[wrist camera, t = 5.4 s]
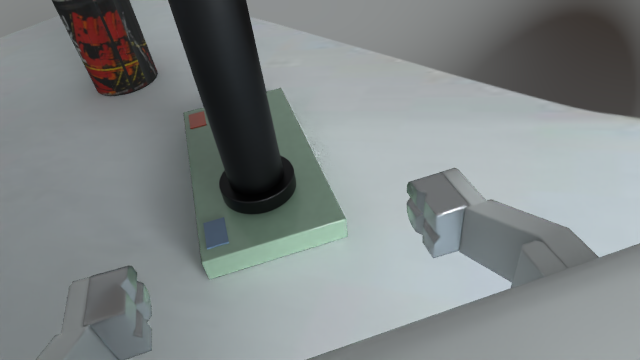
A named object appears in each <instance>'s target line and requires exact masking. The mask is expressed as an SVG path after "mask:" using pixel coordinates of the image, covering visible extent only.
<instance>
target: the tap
mask: <svg viewBox="0 0 640 360" xmlns="http://www.w3.org/2000/svg"><path fill="white" fill-rule="evenodd" d="M168 1H169V4H170V7H171V10H172V13H173V16H174V19H175V22H176V25H177V28H178V31H179V34H180V37H181V40H182V43H183V46H184V49H185V52H186V55H187V58H188V61H189V64H190V67H191V70H192V73H193V76H194V79H195V82H196V85H197V88H198V91H199V94H200V97H201V100H202V103H203V106H204V109H205V112H206V115H207V118H208V121H209V124H210V127H211V130H212V133H213V136H214V139H215V142H216V145H217V148H218V151H219V154H220V157H221V160H222V163H223V166H224V169H225V170H224V172H223V173H222V175H221V177H220V180H219V188H220V191H221V194H222V197H223V199H224V202H225V204H226V205H227V206H228V207H229V208H230V209H232V210H234V211H236V212H238V213H242V214H250V215H254V214H262V213H266V212H269V211H272V210H274V209H277V208H278V207H280V206H282V205H283V204H285V203H286V202H287V201H288V200H289V199H290V198H291V196H292V195H293V193H294V191H295V188H296V177H295V172H294V168H293V166H292V164H291V162H290V161H289V160H288V159H286V158H285V157H283V156H281V155H280V152H279V148H278V143H277V139H276V134H275V130H274V125H273V120H272V116H271V111H270V107H269V102H268V98H267V93H266V89H265V84H264V80H263V75H262V71H261V66H260V62H259V57H258V53H257V48H256V44H255V39H254V35H253V30H252V25H251V21H250V16H249V12H248V7H247V3H246V0H168Z"/></svg>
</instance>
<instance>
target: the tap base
mask: <svg viewBox="0 0 640 360" xmlns="http://www.w3.org/2000/svg"><path fill="white" fill-rule="evenodd" d="M266 93H267V98H268V102H269V107H270V111H271V116H272V120H273V125H274V130H275V134H276V139H277V143H278V148H279V152H280V155H281V156H283V157H285V158H286V159H288V160H289V161H290V162H291V164H292V166H293V168H294V172H295V177H296V188H295V191H294V193H293V195H292V196H291V198H290V199H289V200H288V201H287V202H286V203H285V204H283V205H282V206H280V207H278V208H277V209H274V210H272V211H269V212H266V213H262V214H254V215H250V214H242V213H238V212H236V211H234V210H232V209H230V208H229V207H228V206H227V205H226V204H225V202H224V199H223V197H222V194H221V191H220V188H219V180H220V177H221V175H222V173H223V172H224V170H225V169H224V166H223V163H222V160H221V157H220V154H219V151H218V148H217V145H216V142H215V139H214V136H213V133H212V130H211V127H210V124H209V121H208V118H207V115H206V112H205V109H204V108H200V109H196V110H192V111H188V112H184V122H185V130H186V139H187V147H188V155H189V164H190V172H191V180H192V189H193V197H194V205H195V214H196V222H197V230H198V239H199V247H200V255H201V263H202V265H203V267H204V270H205V272H206V274H207V276H208V278H209V279H213V278H216V277H219V276H223V275H226V274H229V273H232V272H235V271H239V270H242V269H245V268H248V267H252V266H255V265H258V264H261V263H264V262H268V261H271V260H274V259H277V258H281V257H284V256H287V255H290V254H293V253H297V252H300V251H303V250H306V249H310V248H313V247H316V246H319V245H322V244H326V243H329V242H332V241H335V240H339V239H342V238H345V237H347V236H348V234H347V225H346V218H345V216H344V214H343V212H342V210H341V208H340V206H339V204H338V202H337V200H336V198H335V196H334V194H333V192H332V190H331V188H330V186H329V184H328V182H327V180H326V178H325V176H324V174H323V172H322V170H321V168H320V166H319V164H318V162H317V160H316V158H315V156H314V154H313V152H312V150H311V148H310V146H309V144H308V142H307V140H306V138H305V136H304V134H303V132H302V130H301V128H300V125H299V123H298V121H297V119H296V117H295V115H294V113H293V111H292V109H291V107H290V105H289V103H288V101H287V99H286V97H285V95H284V93H283V91H282V89H281V88H279V89H275V90H271V91H267V92H266Z"/></svg>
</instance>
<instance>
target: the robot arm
mask: <svg viewBox="0 0 640 360" xmlns="http://www.w3.org/2000/svg"><path fill="white" fill-rule="evenodd" d="M407 193H408V194H409V196H410V197H411V198H410V199H409V200H408V202H407V213H408V217H409V220H410V223H411V225H412V227H413V228H414V230H415V231H416V232H417V233H419V234H422V235H423V244H424V245H425V247H426V248H427V250H428V251H429V253H430V254H431V256H432V257H433V258H436V257H439V256H443V255H446V254H449V253H453V252H456V251H459V250H460V251H459V252H461V253H462V254H464V255H466V256H467V257H469V258H471V259H473V260H474V261H476V262H478V263H479V264H481V265H483V266H485V267H486V268H488V269H490V270H491V271H493V272H495V273H497V274H498V275H500V276H502V277H503V278H505V279H507V280H509V281H510V282H512V285H511V288H510V289H507V290H504V291H502V292H499V293H496V294H493V295H490V296H487V297H484V298H481V299H478V300H476V301H473V302H470V303H467V304H464V305H461V306H458V307H455V308H453V309H450V310H447V311H444V312H441V313H438V314H435V315H433V316H430V317H427V318H424V319H421V320H418V321H415V322H412V323H410V324H407V325H404V326H401V327H398V328H395V329H392V330H390V331H387V332H384V333H381V334H378V335H375V336H372V337H370V338H367V339H364V340H361V341H358V342H355V343H352V344H350V345H347V346H344V347H341V348H338V349H335V350H332V351H329V352H326V353H324V354H321V355H318V356H315V357H312V358H309V359H306V360H640V243H639V244H637V245H634V246H631V247H628V248H625V249H622V250H619V251H617V252H614V253H611V254H608V255H605V256H602V257H598V256H597V255H596V254H595V253H594V252H593V251H592V250H591V249H590V248H589V247H588V246H587V245H586V244H585V243H584V242H583V241H582V240H581V239H580V238H579V237H577V236H576V235H575V234H574V233H573V232H572V231H571V230H570V229H569V228H567V227H564V226H561V225H559V224H556V223H553V222H551V221H548V220H545V219H543V218H540V217H537V216H534V215H532V214H529V213H526V212H524V211H521V210H518V209H516V208H513V207H510V206H508V205H505V204H502V203H499V202H497V201H494V200H487V201H486V199H485V198H484V197H483V196H482V195H481V194H480V193H479V192H478V191H477V190H476V188H475V187H474V186H473V185H472V184H471V183H470V182H469V181H468V180H467V179H466V177H465V176H464V175H463V174H462V173H461V172H460V171H459V170H458V169H456V168H452V169H449V170H446V171H443V172H440V173H436V174H433V175H430V176H427V177H423V178H420V179H417V180H414V181H410V182H408V185H407ZM151 316H152V306H151V301H150V296H149V293H148V291H147V289H146V287H145V285H144V284H143V283H141V282H139V281H137V272H136V271H135V270H134V268H133V267H132V266H125V267H122V268H118V269H114V270H111V271H107V272H104V273H100V274H96V275H93V276H90V277H87V278H83V279H79V280H76V281H73V282H72V283H71V285H70V286H69V291H68V296H67V302H66V307H65V313H64V319H63V324H62V330H61V334H59V335H56V336H54V338H53V339H52V340H51V341H50V343H49V344H48V345H47V346H46V348H45V349H44V350H43V351H42V353H41V354H40V355H39V356H38V358H37V359H36V360H126V359H129V358H132V357H135V356H138V355H140V354H143V353H146V352H149V351H152V329H151V327H150V326H149V324H148V323H147V322H148V320H149V319H150V317H151Z"/></svg>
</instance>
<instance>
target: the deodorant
mask: <svg viewBox="0 0 640 360" xmlns="http://www.w3.org/2000/svg"><path fill="white" fill-rule="evenodd" d="M52 2H53V4H54V6H55V8H56V10H57V12H58V14H59V16H60V18H61V20H62V22H63V24H64V26H65V28H66V30H67V32H68V34H69V36H70V38H71V40H72V42H73V44H74V45H75V47H76V49H77V51H78V53H79V55H80V57H81V59H82V61H83V63H84V65H85V67H86V69H87V71H88V73H89V75H90V77H91V79H92V81H93V83H94V85H95V87H96V89H97V91H98V92H99V93H100V94H103V95H108V96H115V95H123V94H127V93H131V92H134V91H136V90H139V89H141V88H143V87H145V86H147V85H148V84H150V83H151V82H152V81H153V80H154V79H155V78H156V76H157V70H156V67H155V65H154V62H153V60H152V57H151V54H150V52H149V49H148V47H147V44H146V42H145V39H144V36H143V34H142V31H141V29H140V26H139V24H138V21H137V19H136V16H135V13H134V11H133V8H132V6H131V3H130V1H129V0H52Z"/></svg>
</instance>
